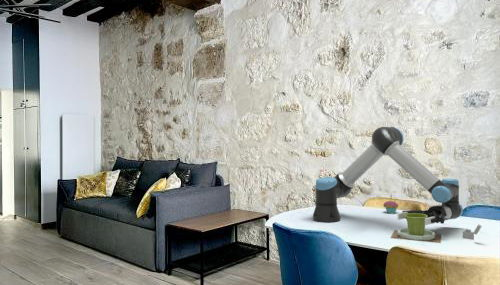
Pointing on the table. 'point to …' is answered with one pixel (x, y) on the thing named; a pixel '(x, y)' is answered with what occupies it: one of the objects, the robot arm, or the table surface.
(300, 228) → the table surface
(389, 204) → the cupcake
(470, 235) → the lighter
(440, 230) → the table surface
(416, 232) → the plant pot
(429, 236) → the saucer
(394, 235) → the walnut board
